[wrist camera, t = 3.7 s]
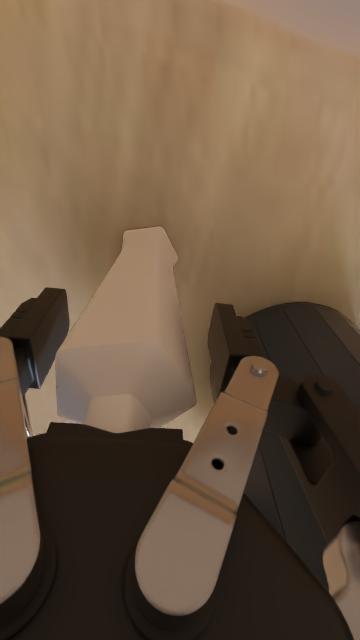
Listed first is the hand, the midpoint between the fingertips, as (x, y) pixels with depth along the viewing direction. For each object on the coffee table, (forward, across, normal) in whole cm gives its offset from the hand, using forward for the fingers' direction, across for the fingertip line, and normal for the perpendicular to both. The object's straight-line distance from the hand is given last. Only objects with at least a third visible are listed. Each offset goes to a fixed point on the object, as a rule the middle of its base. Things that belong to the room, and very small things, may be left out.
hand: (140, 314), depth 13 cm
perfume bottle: (+8, 0, 0) cm, 8 cm away
